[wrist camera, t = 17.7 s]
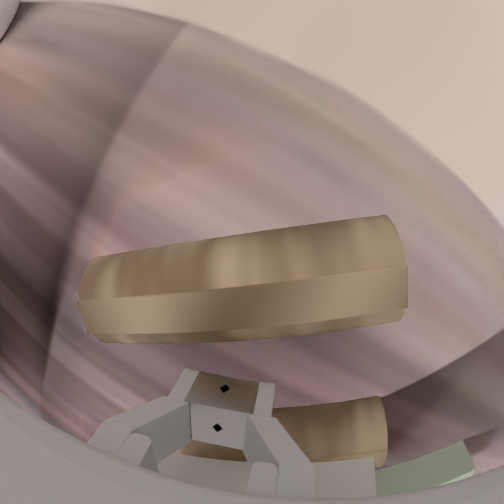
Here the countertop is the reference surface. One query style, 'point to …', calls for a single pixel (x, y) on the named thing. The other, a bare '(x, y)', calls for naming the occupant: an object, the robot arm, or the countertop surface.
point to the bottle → (7, 14)
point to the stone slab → (237, 473)
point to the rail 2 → (321, 433)
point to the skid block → (426, 471)
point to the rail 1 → (249, 285)
